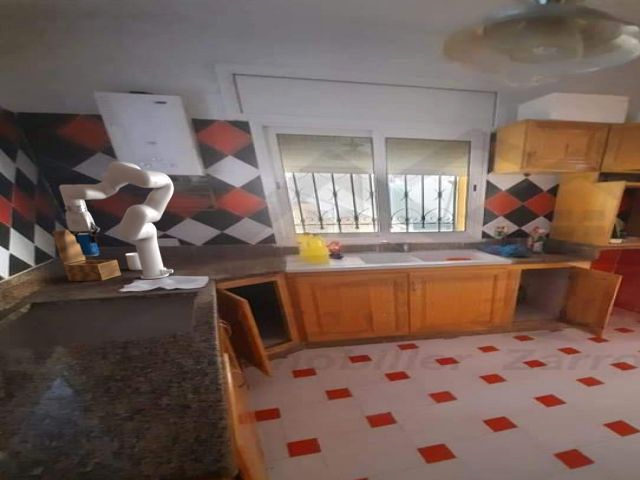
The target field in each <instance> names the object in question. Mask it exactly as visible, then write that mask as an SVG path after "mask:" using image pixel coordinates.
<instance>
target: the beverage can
mask: <svg viewBox="0 0 640 480" xmlns="http://www.w3.org/2000/svg"><path fill="white" fill-rule="evenodd" d="M90 236H91V235H90V234H89V233H88V232H84V233H81V232H80V234H77V239H78V242H79V245H80V248H81V251H82V254H83V255H84V256H85V257H97V256H99V255H100V250H99V248H98V243H91V239H90Z"/></svg>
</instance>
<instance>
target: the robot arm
mask: <svg viewBox="0 0 640 480" xmlns="http://www.w3.org/2000/svg"><path fill="white" fill-rule="evenodd" d="M101 179H102V181H101V182H98V183H96V184H86V183H85V184H83V183H82V184H80V183H79V184H60V185H59V188H58V189H59V191H60V194H61V197H62V201H63V204H64V206H65V207H64V210H66V212H65V220H66V225H67V227H66V228H65V230H68V231H69V232H70V233H71V234H73V236H75V238H76V241H77V243H79V242H78V239H77V234H81V232H86V233H89V234H90V235H91V236H90V239H91V243H96V244H98V243H99V241H98V238H97V236H98V234H99V232H100V230H101V228H100V227H98V226H97V225H96V224H95V221H94V219H93V217H92V214H91V213H90V212H89V211H88V208H87V205H86V201H85V200H90V201H91V200H104V199H107V198H109V197H111V196H113V195H115V194H117V193H118V191H119V190H120V188H122V187H125V186H126V185H128V184H130V185H134V186H137V187H140V188H146V189H153V190H151V191H150V192H149V193H148V194H147V196H146V199H145V200H144V202H143V203H141V204H133V205H131V206H129V207H128V208H127V209H126V211H125V213H124V215H123V217H122V219H121V220H120V223H119V225H118V234H119V235H120V237H121V238H123V239H124V240H127V241H135V249H136V253H138V257H139V260H140V264H141V267H142V270H141V271H142V275H140V279H141V280H155V279H162V278H166V277H168V276H169V275H170V274H173V273H174V269H172V268H170V269H169V268H167V267H166V266H164V263H163V260H162V255H161V252H160V247H159V242H158V237H157V236H158V235H157V233H158V232H157V228H156V226H155V225H154V224H153V223H156V222H158V221H160V220H161V218H162V216H163V213H164V212H165V210H166V208H167V206H168V204H169V203H170V200H171V198H172V196H173V194H174V191H175V188H174V182H173V181H172V179H171V178H170V177H169V176H168V175H167V174H166V173H164V172H162V171H157V170H150V169H149V170H148V169H141V168H140V167H139V165H137V164H135V163H132V162H127V161H119V160H117V161H116V160H115V161H112V162H109V164H108V165H107V170H106V171H104V172H103V173H102V174H101Z"/></svg>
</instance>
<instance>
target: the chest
mask: <svg viewBox="0 0 640 480" xmlns="http://www.w3.org/2000/svg"><path fill="white" fill-rule="evenodd" d="M119 266H120V265H119V264H118V260H117V259H88V260H87V259H86V260H81V261H77V262H72V263H68V264H63V268H64V270H65V273H66V275H67V276H66V277H67V279H68V281H69V282H76V281H77V282H81V281H82V282H84V281H85V282H86V281H87V282H89V281H91V282H92V281H105V280H109V279H111V278H115V277H119V276H121V275H122V273H121V270H120V267H119Z"/></svg>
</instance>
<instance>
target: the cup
mask: <svg viewBox="0 0 640 480" xmlns="http://www.w3.org/2000/svg"><path fill="white" fill-rule="evenodd" d="M124 255H125V258H126V263H127V266H128V270H130V271H142V267H141V264H140V260H139V257H138V253H137V252H129V253H125V254H124Z"/></svg>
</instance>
